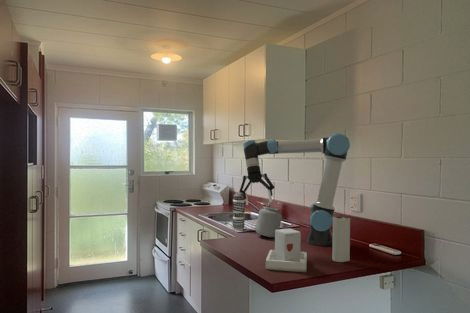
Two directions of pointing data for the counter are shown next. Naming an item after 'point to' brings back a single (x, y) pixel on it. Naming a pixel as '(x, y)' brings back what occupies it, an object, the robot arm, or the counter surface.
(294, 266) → the ceramic dish
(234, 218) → the decorative candle
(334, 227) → the paper towel roll
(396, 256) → the counter surface
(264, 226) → the jar
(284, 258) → the supplement box
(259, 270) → the counter surface
